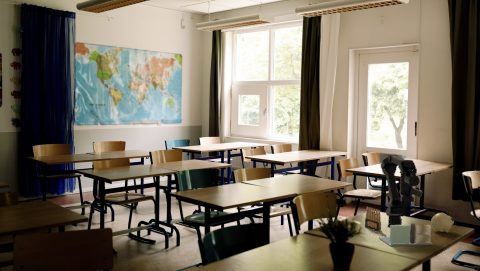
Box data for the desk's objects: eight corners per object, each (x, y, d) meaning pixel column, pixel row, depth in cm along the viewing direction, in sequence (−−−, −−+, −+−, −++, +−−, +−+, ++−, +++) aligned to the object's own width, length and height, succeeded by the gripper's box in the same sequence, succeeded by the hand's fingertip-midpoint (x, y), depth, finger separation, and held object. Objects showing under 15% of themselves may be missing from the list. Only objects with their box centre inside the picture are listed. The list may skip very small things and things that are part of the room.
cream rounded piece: (457, 232, 257) (458, 213, 256) (442, 235, 251) (443, 215, 251) (441, 228, 266) (442, 209, 265) (427, 230, 260) (427, 212, 259)
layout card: (419, 236, 249) (419, 235, 249) (432, 244, 235) (432, 243, 235) (378, 238, 246) (378, 237, 246) (390, 246, 232) (390, 245, 232)
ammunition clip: (364, 226, 268) (365, 206, 267) (366, 226, 269) (367, 205, 268) (378, 231, 259) (379, 210, 258) (381, 231, 260) (381, 209, 259)
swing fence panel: (408, 242, 236) (408, 224, 236) (409, 242, 235) (410, 225, 234) (389, 243, 235) (390, 225, 234) (390, 243, 234) (391, 226, 233)
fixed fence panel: (428, 241, 238) (429, 222, 238) (430, 243, 236) (431, 223, 235) (409, 242, 237) (409, 223, 236) (411, 243, 235) (411, 224, 234)
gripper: (424, 186, 243) (423, 216, 244) (418, 180, 261) (418, 208, 262) (402, 185, 245) (401, 215, 246) (397, 179, 263) (397, 207, 265)
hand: (405, 211), depth 255 cm, fingers closed
